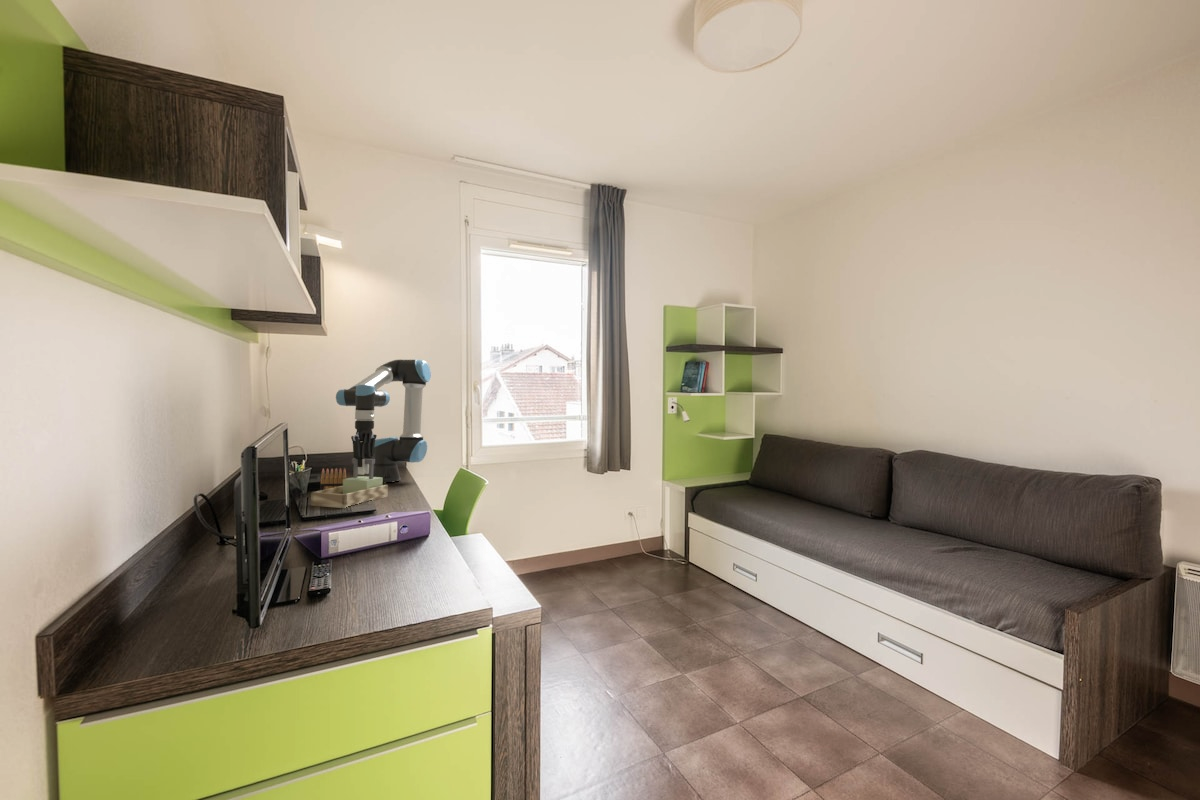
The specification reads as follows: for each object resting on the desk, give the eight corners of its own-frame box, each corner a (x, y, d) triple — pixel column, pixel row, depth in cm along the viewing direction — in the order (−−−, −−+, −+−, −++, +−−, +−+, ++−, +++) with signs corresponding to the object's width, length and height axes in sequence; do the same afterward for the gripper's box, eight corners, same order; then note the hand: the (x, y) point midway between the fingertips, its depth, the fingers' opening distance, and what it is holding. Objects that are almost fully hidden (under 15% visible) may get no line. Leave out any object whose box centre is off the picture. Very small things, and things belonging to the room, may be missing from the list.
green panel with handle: (359, 491, 221) (360, 457, 221) (382, 493, 218) (383, 458, 218) (342, 495, 211) (343, 459, 212) (366, 497, 209) (367, 460, 209)
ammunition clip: (346, 494, 223) (347, 467, 223) (345, 494, 221) (346, 468, 221) (320, 494, 221) (321, 467, 221) (319, 495, 219) (320, 468, 219)
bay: (356, 494, 223) (357, 482, 223) (387, 496, 219) (387, 484, 219) (310, 505, 197) (310, 492, 197) (344, 508, 194) (344, 495, 194)
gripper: (359, 420, 207) (358, 476, 207) (383, 419, 222) (382, 472, 221) (344, 420, 209) (343, 475, 209) (369, 419, 223) (367, 471, 223)
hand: (363, 473), depth 215 cm, fingers closed on green panel with handle, 2 cm apart
